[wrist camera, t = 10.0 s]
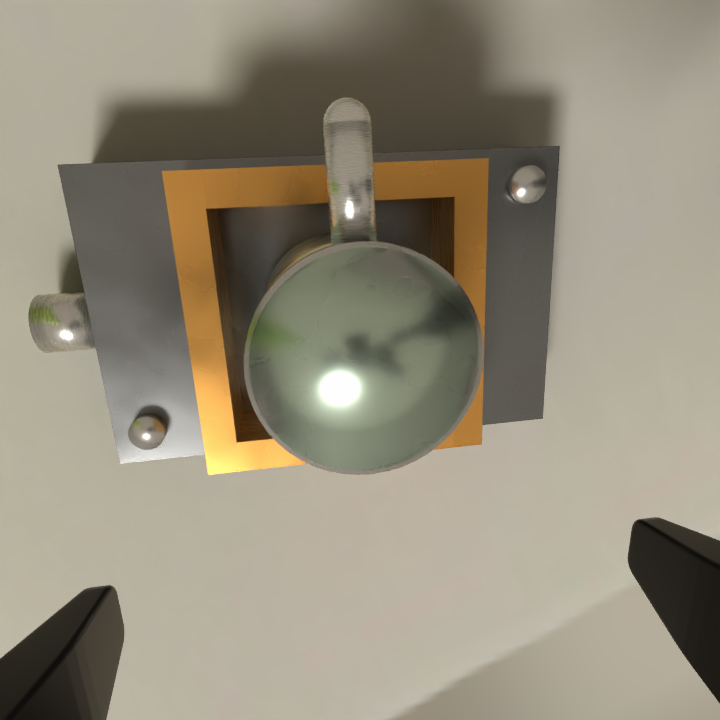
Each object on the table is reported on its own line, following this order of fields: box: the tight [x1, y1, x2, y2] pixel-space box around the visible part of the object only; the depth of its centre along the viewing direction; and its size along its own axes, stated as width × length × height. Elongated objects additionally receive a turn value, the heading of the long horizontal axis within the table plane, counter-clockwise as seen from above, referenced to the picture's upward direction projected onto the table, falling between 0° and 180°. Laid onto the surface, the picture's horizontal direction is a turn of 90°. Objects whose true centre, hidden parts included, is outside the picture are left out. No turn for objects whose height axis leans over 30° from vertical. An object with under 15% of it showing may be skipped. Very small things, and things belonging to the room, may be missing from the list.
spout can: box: [244, 97, 484, 475], centre depth 14 cm, size 5×8×7 cm, turn 3°
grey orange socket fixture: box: [29, 146, 560, 475], centre depth 17 cm, size 18×10×5 cm, turn 93°
